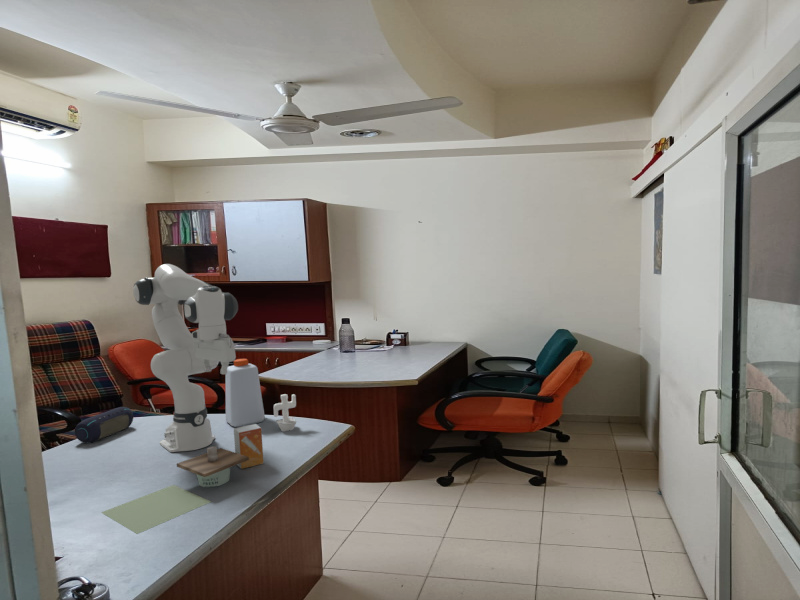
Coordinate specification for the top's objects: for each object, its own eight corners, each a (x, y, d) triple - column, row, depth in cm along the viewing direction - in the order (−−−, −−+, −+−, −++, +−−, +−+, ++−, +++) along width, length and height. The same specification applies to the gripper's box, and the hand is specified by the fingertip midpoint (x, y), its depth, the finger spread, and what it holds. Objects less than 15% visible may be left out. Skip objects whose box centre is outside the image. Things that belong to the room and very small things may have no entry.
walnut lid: (176, 466, 171) (175, 451, 171) (220, 450, 184) (219, 436, 183) (204, 477, 161) (203, 461, 161) (248, 459, 174) (247, 444, 173)
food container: (192, 493, 166) (191, 472, 165) (196, 478, 177) (195, 459, 177) (233, 486, 169) (231, 466, 168) (234, 472, 180) (232, 453, 180)
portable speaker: (91, 446, 216) (89, 422, 215) (72, 444, 219) (70, 421, 218) (138, 426, 240) (136, 404, 239) (121, 425, 243) (119, 404, 242)
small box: (241, 469, 182) (238, 432, 181) (235, 464, 188) (233, 428, 187) (264, 463, 187) (261, 427, 186) (258, 458, 192) (255, 423, 191)
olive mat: (101, 513, 155) (101, 512, 155) (173, 486, 172) (173, 484, 172) (137, 535, 141) (137, 533, 141) (211, 502, 158) (211, 501, 158)
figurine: (273, 429, 225) (271, 394, 224) (295, 425, 229) (293, 391, 228) (277, 433, 219) (274, 398, 218) (299, 429, 223) (297, 394, 221)
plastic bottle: (223, 421, 241) (218, 360, 239) (256, 414, 249) (252, 355, 247) (233, 429, 228) (228, 364, 226) (267, 421, 237) (263, 359, 234)
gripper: (238, 333, 179) (241, 373, 180) (205, 330, 192) (208, 368, 193) (222, 336, 174) (225, 377, 175) (188, 333, 187) (192, 371, 188)
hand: (216, 372), depth 184 cm, fingers open, 8 cm apart
